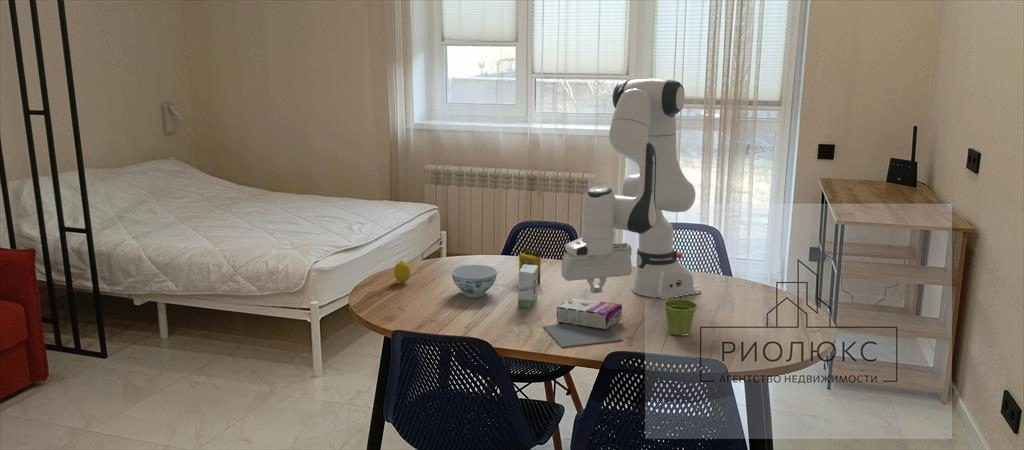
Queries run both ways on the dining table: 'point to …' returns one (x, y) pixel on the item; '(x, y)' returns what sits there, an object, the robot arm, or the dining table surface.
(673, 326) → the plant pot
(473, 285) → the chinaware
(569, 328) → the mat
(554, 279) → the dining table surface
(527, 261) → the crayon box
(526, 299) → the ink box
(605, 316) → the candy bar box
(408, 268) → the lemon
